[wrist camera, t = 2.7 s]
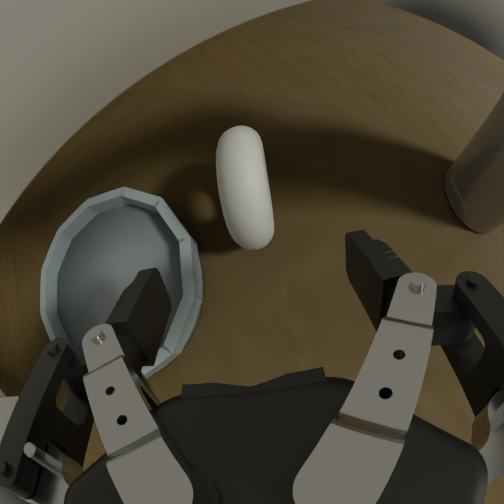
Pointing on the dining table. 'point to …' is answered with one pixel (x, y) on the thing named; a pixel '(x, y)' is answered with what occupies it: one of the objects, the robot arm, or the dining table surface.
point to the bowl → (120, 268)
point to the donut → (244, 187)
